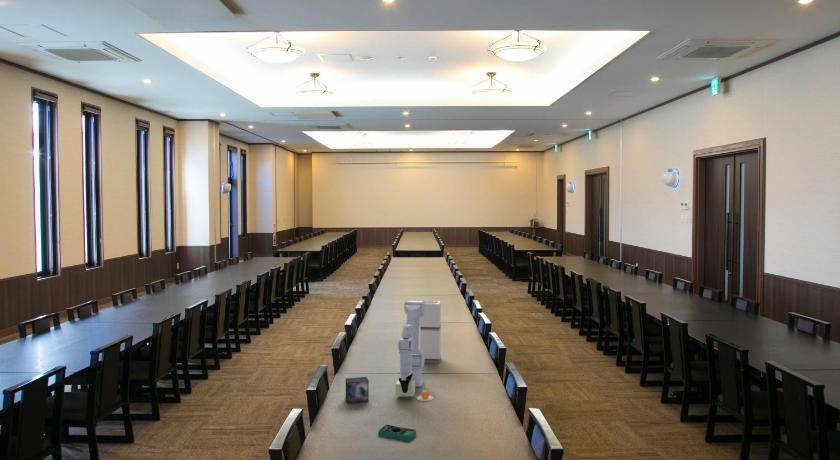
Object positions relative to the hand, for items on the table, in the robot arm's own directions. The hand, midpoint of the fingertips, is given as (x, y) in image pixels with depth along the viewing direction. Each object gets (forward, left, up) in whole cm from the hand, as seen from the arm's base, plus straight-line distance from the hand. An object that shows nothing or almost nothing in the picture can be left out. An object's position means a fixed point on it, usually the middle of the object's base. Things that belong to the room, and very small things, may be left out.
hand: (406, 390), depth 279 cm
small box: (+7, -23, -4) cm, 24 cm away
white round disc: (0, +9, -4) cm, 10 cm away
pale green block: (0, 0, -2) cm, 2 cm away
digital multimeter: (+44, +4, -4) cm, 45 cm away
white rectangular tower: (-66, +4, -4) cm, 66 cm away
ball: (0, +9, -2) cm, 10 cm away
